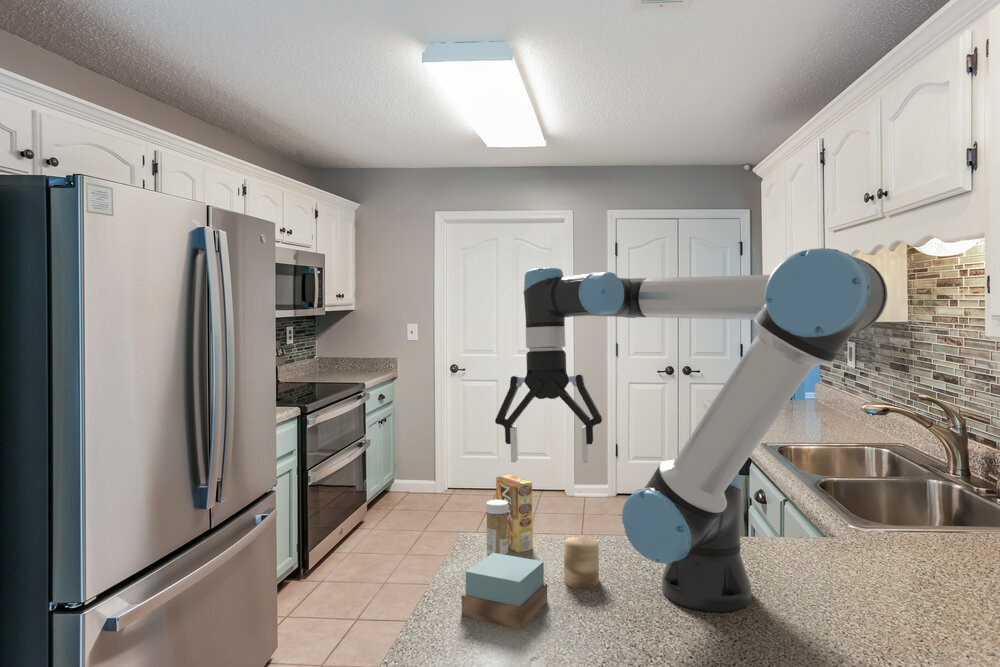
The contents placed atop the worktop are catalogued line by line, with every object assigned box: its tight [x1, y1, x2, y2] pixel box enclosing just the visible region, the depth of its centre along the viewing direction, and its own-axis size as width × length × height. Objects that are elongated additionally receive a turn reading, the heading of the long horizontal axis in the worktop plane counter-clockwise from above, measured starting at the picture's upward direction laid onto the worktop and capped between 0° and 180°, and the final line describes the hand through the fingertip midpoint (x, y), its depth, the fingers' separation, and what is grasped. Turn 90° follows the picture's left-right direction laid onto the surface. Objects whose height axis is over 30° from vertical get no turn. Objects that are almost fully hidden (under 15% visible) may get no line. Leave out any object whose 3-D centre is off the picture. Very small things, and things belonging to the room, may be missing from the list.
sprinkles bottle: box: [485, 499, 509, 557], centre depth 125 cm, size 5×5×14 cm
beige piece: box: [563, 536, 600, 589], centre depth 117 cm, size 6×6×8 cm
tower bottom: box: [461, 582, 548, 631], centre depth 106 cm, size 11×11×4 cm
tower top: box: [465, 553, 545, 607], centre depth 106 cm, size 10×10×4 cm
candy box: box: [495, 474, 534, 553], centre depth 136 cm, size 9×4×15 cm, turn 33°
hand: (549, 461), depth 117 cm, fingers open, 13 cm apart
